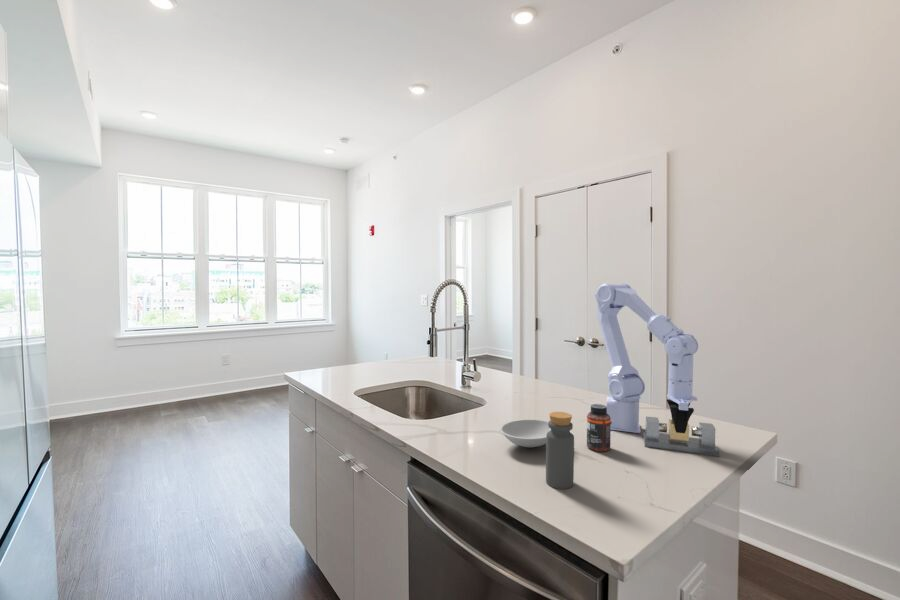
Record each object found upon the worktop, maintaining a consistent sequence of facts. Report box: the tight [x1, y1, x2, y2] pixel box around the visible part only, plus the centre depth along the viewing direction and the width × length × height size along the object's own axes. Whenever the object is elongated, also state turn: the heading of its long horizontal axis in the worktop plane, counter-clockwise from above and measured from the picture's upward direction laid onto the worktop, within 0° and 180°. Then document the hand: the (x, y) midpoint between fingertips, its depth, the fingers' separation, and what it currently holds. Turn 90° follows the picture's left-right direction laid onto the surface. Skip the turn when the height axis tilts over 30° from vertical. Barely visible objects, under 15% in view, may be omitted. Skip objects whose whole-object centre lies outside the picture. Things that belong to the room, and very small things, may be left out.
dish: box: [498, 418, 551, 449], centre depth 112 cm, size 18×14×5 cm
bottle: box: [545, 411, 575, 490], centre depth 91 cm, size 6×6×15 cm
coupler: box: [667, 419, 690, 441], centre depth 113 cm, size 4×4×4 cm
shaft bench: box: [642, 416, 720, 457], centre depth 113 cm, size 17×8×6 cm, turn 68°
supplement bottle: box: [586, 403, 611, 453], centre depth 111 cm, size 6×6×11 cm
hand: (679, 429), depth 113 cm, fingers closed on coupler, 4 cm apart
